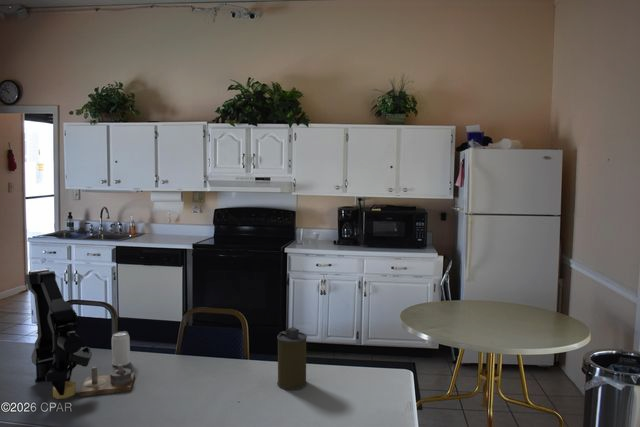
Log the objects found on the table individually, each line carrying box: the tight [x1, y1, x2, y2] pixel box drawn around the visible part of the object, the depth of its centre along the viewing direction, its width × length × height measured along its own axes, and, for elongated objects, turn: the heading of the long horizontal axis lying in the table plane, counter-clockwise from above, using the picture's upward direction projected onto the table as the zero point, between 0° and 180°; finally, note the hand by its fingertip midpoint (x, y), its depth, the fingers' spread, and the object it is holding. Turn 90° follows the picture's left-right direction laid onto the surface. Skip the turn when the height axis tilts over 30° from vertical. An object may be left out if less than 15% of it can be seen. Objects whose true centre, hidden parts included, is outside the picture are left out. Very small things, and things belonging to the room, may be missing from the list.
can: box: [111, 330, 131, 367], centre depth 183 cm, size 6×6×12 cm
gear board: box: [78, 364, 136, 397], centre depth 164 cm, size 16×12×7 cm
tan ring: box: [52, 380, 77, 400], centre depth 158 cm, size 6×6×3 cm
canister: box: [276, 326, 308, 391], centre depth 166 cm, size 11×10×20 cm
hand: (64, 390), depth 158 cm, fingers closed on tan ring, 6 cm apart
